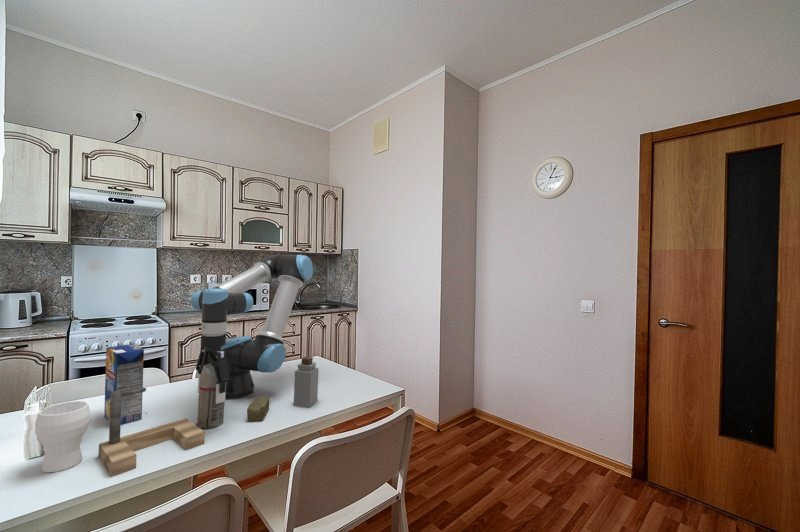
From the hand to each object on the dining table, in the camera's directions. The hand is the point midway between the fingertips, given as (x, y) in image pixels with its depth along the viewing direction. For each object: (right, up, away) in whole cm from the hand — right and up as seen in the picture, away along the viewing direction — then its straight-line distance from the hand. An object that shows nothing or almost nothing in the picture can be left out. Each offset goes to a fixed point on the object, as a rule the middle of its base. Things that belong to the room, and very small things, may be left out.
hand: (211, 397), depth 118 cm
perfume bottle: (+27, -10, +20) cm, 35 cm away
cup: (-26, -9, -25) cm, 37 cm away
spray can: (0, -9, 0) cm, 9 cm away
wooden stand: (-7, -9, -17) cm, 20 cm away
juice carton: (-32, -8, +2) cm, 33 cm away
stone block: (+13, -10, +8) cm, 18 cm away
